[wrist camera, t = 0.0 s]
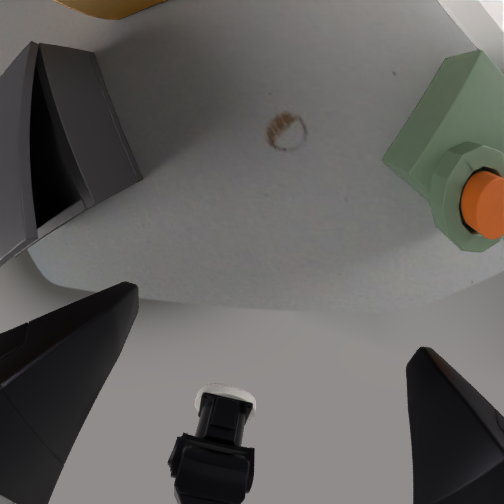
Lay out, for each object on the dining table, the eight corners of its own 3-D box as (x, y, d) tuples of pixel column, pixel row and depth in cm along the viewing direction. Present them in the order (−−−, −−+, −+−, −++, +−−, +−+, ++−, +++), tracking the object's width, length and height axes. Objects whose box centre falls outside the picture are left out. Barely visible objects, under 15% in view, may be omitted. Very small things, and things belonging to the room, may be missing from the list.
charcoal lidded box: (143, 179, 21) (95, 204, 15) (59, 227, 24) (14, 257, 18) (93, 52, 16) (39, 42, 10) (18, 122, 19) (-31, 133, 13)
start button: (479, 239, 14) (494, 251, 12) (450, 205, 13) (466, 216, 11) (507, 195, 12) (524, 204, 10) (480, 158, 11) (498, 164, 10)
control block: (443, 237, 20) (486, 278, 14) (371, 173, 19) (408, 199, 13) (508, 132, 15) (561, 146, 9) (445, 58, 14) (497, 45, 8)
